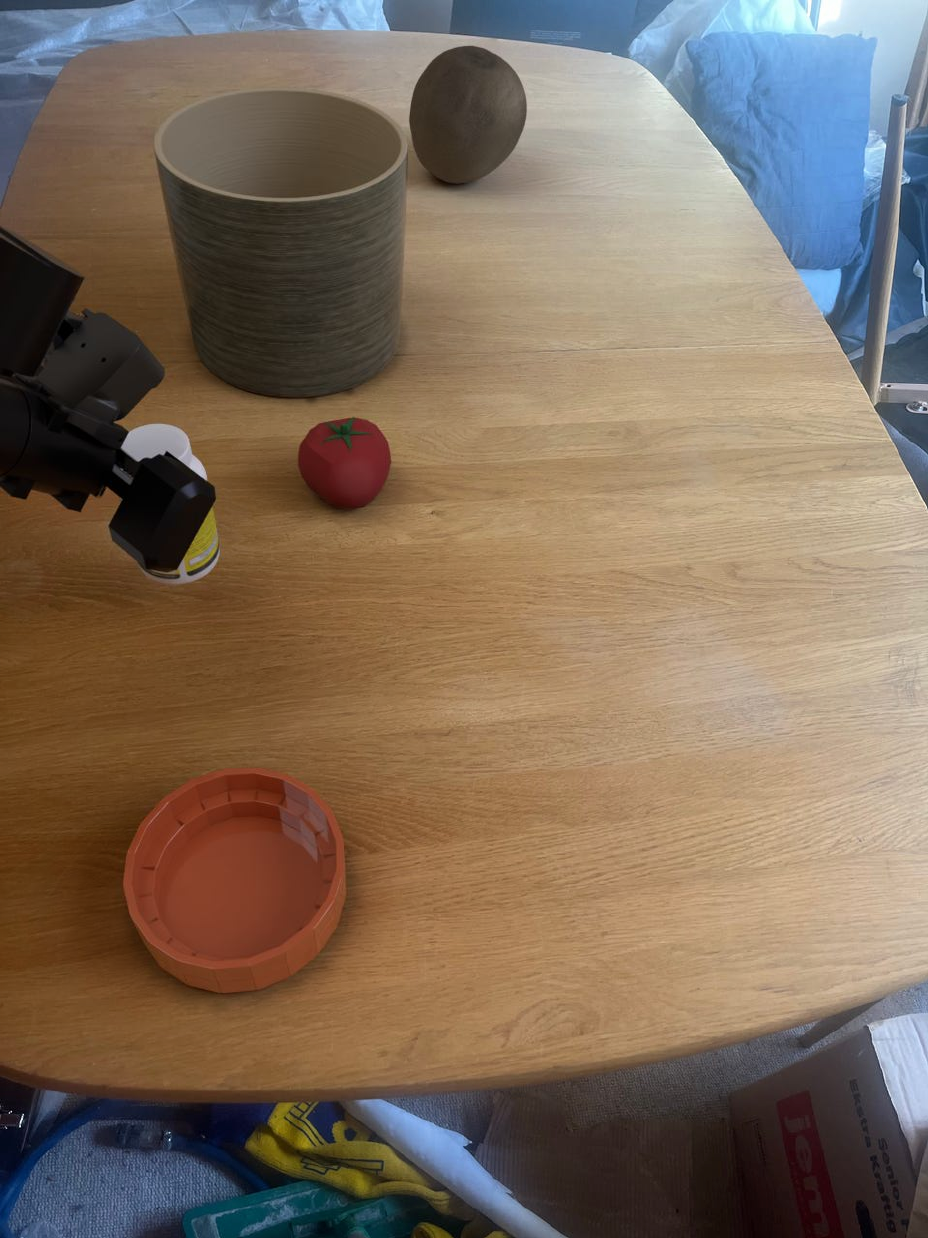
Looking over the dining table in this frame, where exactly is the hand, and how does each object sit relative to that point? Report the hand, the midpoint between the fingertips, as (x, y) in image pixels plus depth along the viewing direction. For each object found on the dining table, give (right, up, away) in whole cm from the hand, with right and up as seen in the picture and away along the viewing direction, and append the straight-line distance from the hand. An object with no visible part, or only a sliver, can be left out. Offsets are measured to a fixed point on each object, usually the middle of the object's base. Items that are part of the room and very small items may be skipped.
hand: (181, 484), depth 69 cm
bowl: (+6, -27, -7) cm, 29 cm away
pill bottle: (-1, -5, +4) cm, 7 cm away
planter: (+3, +20, +32) cm, 37 cm away
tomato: (+10, +2, +17) cm, 20 cm away
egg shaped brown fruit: (+20, +48, +56) cm, 77 cm away
